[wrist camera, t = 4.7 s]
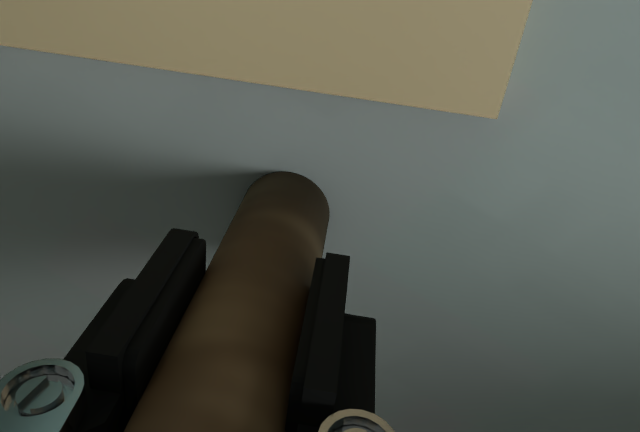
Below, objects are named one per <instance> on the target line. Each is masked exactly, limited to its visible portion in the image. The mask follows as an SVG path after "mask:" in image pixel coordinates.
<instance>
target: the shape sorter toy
mask: <svg viewBox="0 0 640 432" xmlns="http://www.w3.org/2000/svg"><path fill="white" fill-rule="evenodd" d="M532 1H533V0H0V45H2V46H9V47H16V48H22V49H29V50H36V51H42V52H49V53H56V54H63V55H69V56H76V57H83V58H89V59H96V60H103V61H110V62H116V63H123V64H130V65H136V66H143V67H150V68H157V69H163V70H170V71H177V72H183V73H190V74H197V75H204V76H210V77H217V78H224V79H230V80H237V81H244V82H251V83H257V84H264V85H271V86H277V87H284V88H291V89H298V90H304V91H311V92H318V93H324V94H331V95H338V96H345V97H351V98H358V99H365V100H372V101H378V102H385V103H392V104H398V105H405V106H412V107H419V108H425V109H432V110H439V111H445V112H452V113H459V114H466V115H472V116H479V117H486V118H492V119H497V118H498V114H499V111H500V108H501V104H502V101H503V98H504V94H505V91H506V88H507V84H508V81H509V78H510V74H511V71H512V68H513V64H514V61H515V58H516V54H517V51H518V48H519V44H520V41H521V38H522V34H523V31H524V28H525V24H526V21H527V18H528V14H529V11H530V8H531V4H532Z"/></svg>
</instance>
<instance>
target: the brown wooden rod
mask: <svg viewBox="0 0 640 432" xmlns="http://www.w3.org/2000/svg"><path fill="white" fill-rule="evenodd" d="M328 222H329V206H328V202H327V200H326V197H325V196H324V194H323V192H322V191H321V190H320V188H319V187H318V186H317V185H316V184H315V183H313V182H312V181H311V180H309V179H307V178H306V177H304V176H301V175H298V174H295V173H291V172H275V173H271V174H267V175H265V176H263V177H261V178H259V179H258V180H257V181H255V182H254V183H253V184H252V185H251V186H250V188H249V189H248V191H247V193H246V195H245V197H244V199H243V201H242V203H241V204H240V206H239V208H238V210H237V212H236V214H235V216H234V218H233V220H232V222H231V224H230V226H229V228H228V230H227V232H226V234H225V236H224V237H223V239H222V241H221V243H220V245H219V247H218V249H217V251H216V253H215V255H214V257H213V259H212V261H211V263H210V265H209V267H208V269H207V270H206V272H205V274H204V276H203V278H202V280H201V282H200V284H199V286H198V288H197V290H196V292H195V294H194V296H193V298H192V300H191V302H190V303H189V305H188V307H187V309H186V311H185V313H184V315H183V317H182V319H181V321H180V323H179V325H178V327H177V329H176V331H175V333H174V335H173V336H172V338H171V340H170V342H169V344H168V346H167V348H166V350H165V352H164V354H163V356H162V358H161V360H160V362H159V364H158V366H157V368H156V369H155V371H154V373H153V375H152V377H151V379H150V381H149V383H148V385H147V387H146V389H145V391H144V393H143V395H142V397H141V399H140V401H139V402H138V404H137V406H136V408H135V410H134V412H133V414H132V416H131V418H130V420H129V422H128V424H127V426H126V428H125V430H124V432H285V425H286V417H287V409H288V402H289V394H290V388H291V382H292V376H293V371H294V366H295V361H296V356H297V351H298V346H299V341H300V336H301V331H302V326H303V321H304V316H305V311H306V306H307V301H308V296H309V291H310V286H311V281H312V276H313V271H314V266H315V261H316V257H317V258H322V255H323V249H324V244H325V238H326V233H327V227H328Z"/></svg>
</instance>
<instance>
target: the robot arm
mask: <svg viewBox="0 0 640 432" xmlns="http://www.w3.org/2000/svg"><path fill="white" fill-rule="evenodd" d="M349 262H350V256H345V255H339V254H333V253H326V259H324V258H317V257H316V261H315V266H314V271H313V276H312V281H311V286H310V291H309V296H308V301H307V306H306V311H305V316H304V321H303V326H302V331H301V336H300V341H299V346H298V351H297V356H296V361H295V366H294V371H293V376H292V382H291V388H290V394H289V402H288V409H287V417H286V425H285V432H395V431H394V430H393V429H392V427H391V426H390V425H389V424H388V423H387V422H386V421H385V420H383V419H382V418H380V417H379V416H377V415H376V414H375V352H376V320H375V319H374V318H368V317H362V316H356V315H350V314H344V313H345V303H346V293H347V282H348V272H349ZM205 272H206V241H205V240H204V239H199V236H198V233H197V232H194V231H188V230H181V229H175V228H173V229H171V230H170V231H169V233H168V234H167V236H166V237H165V238H164V240H163V241H162V243H161V244H160V245H159V247H158V248H157V250H156V251H155V253H154V254H153V255H152V257H151V258H150V260H149V261H148V263H147V264H146V265H145V267H144V268H143V270H142V271H141V272H140V274H139V275H138V277H137V278H136V280H134V279H128V278H127V279H124V280H123V281H122V282H121V283H120V284H119V285H118V286H117V288H116V289H115V290H114V292H113V293H112V294H111V296H110V297H109V298H108V300H107V301H106V303H105V304H104V305H103V307H102V308H101V309H100V311H99V312H98V313H97V315H96V316H95V317H94V319H93V320H92V321H91V323H90V324H89V325H88V327H87V328H86V329H85V331H84V332H83V334H82V335H81V336H80V338H79V339H78V340H77V342H76V343H75V344H74V346H73V347H72V348H71V350H70V351H69V352H68V354H67V355H66V356H65V358H64V359H63V360H62V359H42V360H37V361H32V362H29V363H27V364H24V365H22V366H19V367H17V368H16V369H14V370H13V371H11V372H9V373H8V374H6V375H5V376H4V377H3V378H2V379H1V380H0V432H124V430H125V428H126V426H127V424H128V422H129V420H130V418H131V416H132V414H133V412H134V410H135V408H136V406H137V404H138V402H139V401H140V399H141V397H142V395H143V393H144V391H145V389H146V387H147V385H148V383H149V381H150V379H151V377H152V375H153V373H154V371H155V369H156V368H157V366H158V364H159V362H160V360H161V358H162V356H163V354H164V352H165V350H166V348H167V346H168V344H169V342H170V340H171V338H172V336H173V335H174V333H175V331H176V329H177V327H178V325H179V323H180V321H181V319H182V317H183V315H184V313H185V311H186V309H187V307H188V305H189V303H190V302H191V300H192V298H193V296H194V294H195V292H196V290H197V288H198V286H199V284H200V282H201V280H202V278H203V276H204V274H205Z"/></svg>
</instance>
